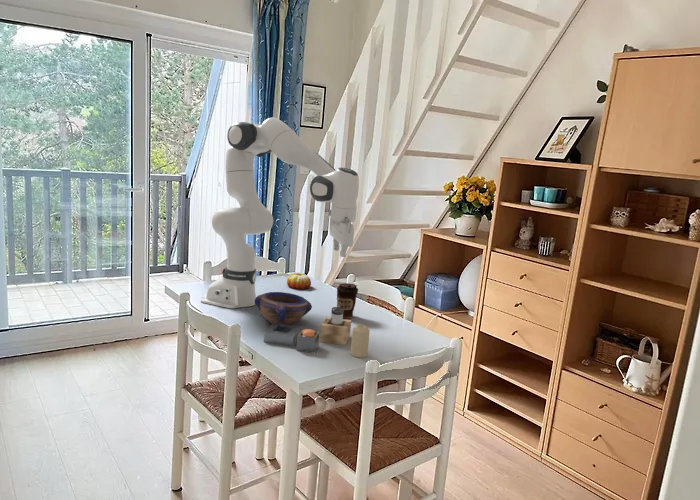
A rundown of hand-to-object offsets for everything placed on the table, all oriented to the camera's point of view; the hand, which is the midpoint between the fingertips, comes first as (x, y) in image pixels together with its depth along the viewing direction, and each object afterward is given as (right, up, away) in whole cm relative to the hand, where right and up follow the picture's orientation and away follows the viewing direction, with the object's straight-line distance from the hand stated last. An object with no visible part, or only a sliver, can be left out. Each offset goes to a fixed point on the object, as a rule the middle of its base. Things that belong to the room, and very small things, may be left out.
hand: (339, 253), depth 189 cm
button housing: (-10, -31, -14) cm, 36 cm away
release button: (-10, -30, -15) cm, 35 cm away
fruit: (-20, -16, +59) cm, 64 cm away
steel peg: (-1, -30, -4) cm, 30 cm away
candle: (+7, -33, -16) cm, 37 cm away
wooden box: (-1, -30, -4) cm, 30 cm away
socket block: (-19, -29, -8) cm, 36 cm away
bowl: (-21, -26, +9) cm, 35 cm away
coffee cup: (+2, -25, +22) cm, 33 cm away
